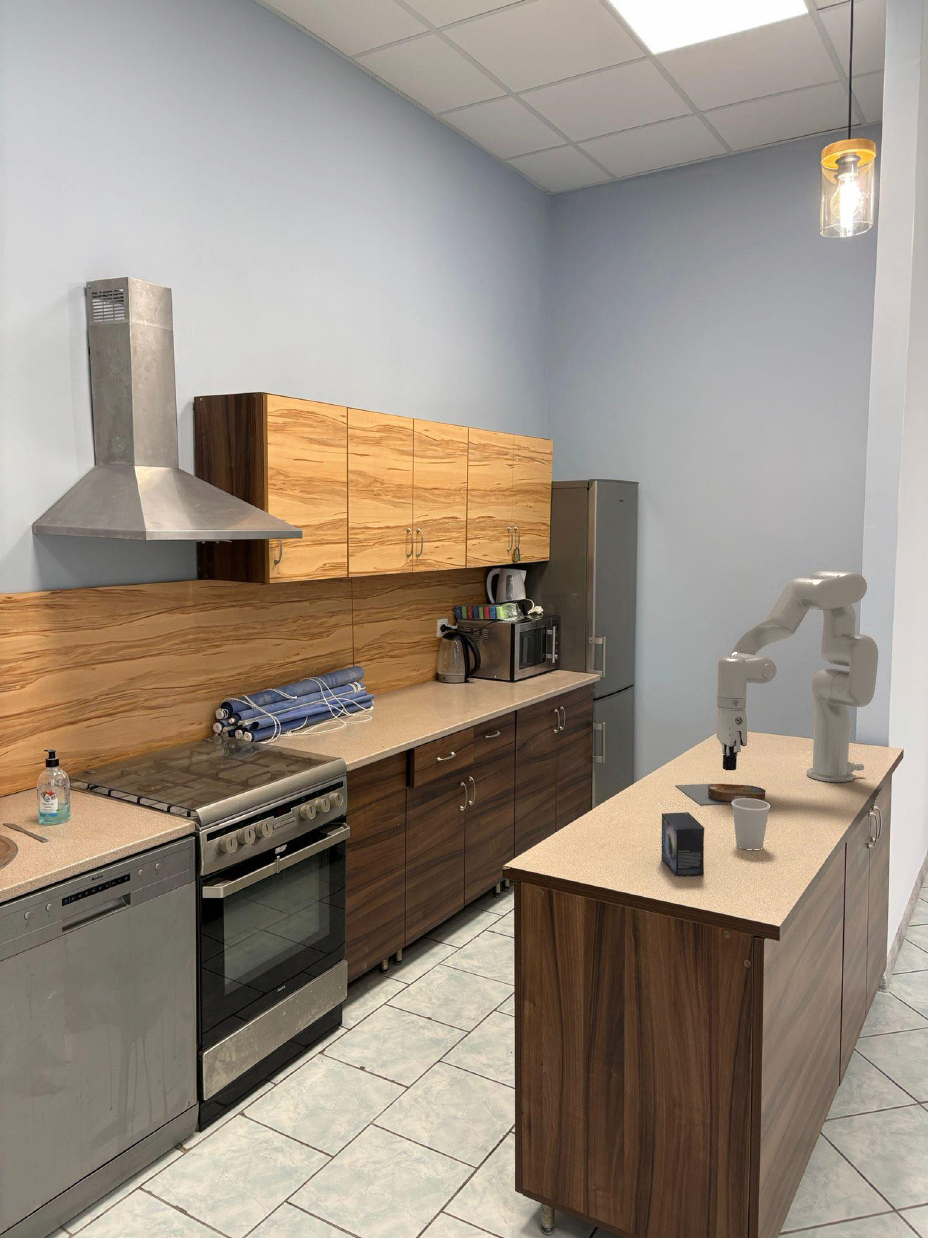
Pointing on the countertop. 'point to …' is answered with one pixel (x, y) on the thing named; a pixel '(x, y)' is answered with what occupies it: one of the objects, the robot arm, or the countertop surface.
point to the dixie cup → (750, 822)
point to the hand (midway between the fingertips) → (729, 769)
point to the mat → (700, 794)
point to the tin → (735, 792)
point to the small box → (683, 844)
